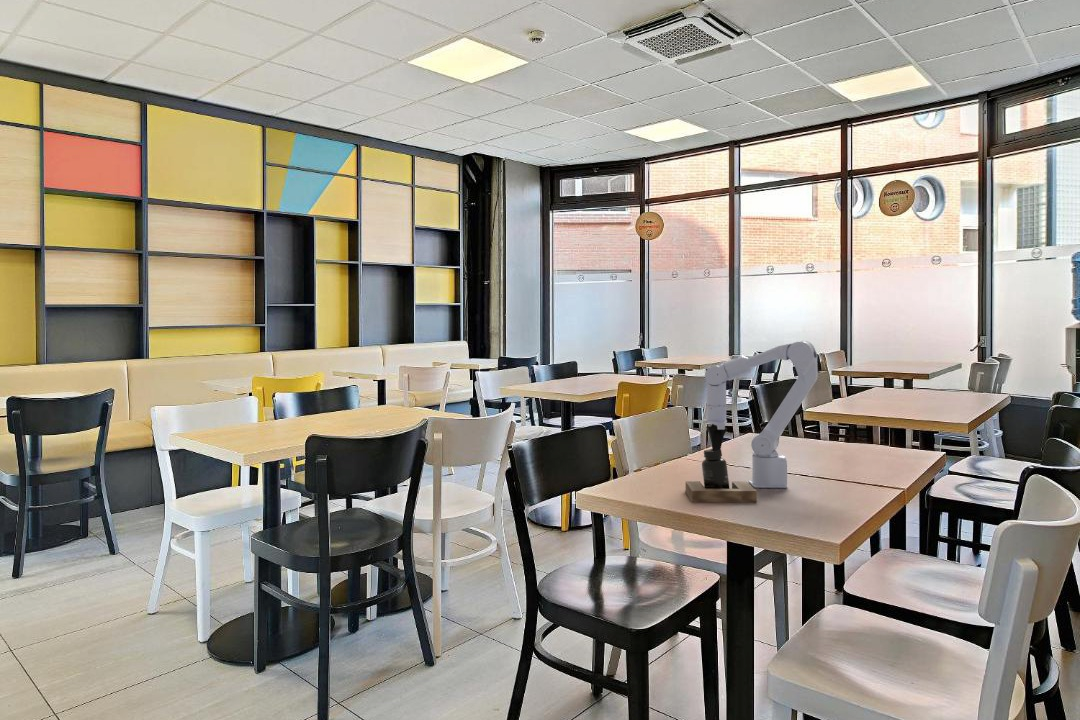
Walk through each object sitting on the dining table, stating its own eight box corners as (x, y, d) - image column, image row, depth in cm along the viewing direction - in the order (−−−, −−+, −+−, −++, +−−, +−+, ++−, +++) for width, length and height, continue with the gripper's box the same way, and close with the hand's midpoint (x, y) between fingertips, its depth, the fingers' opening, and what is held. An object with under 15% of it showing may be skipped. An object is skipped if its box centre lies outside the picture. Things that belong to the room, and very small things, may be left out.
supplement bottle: (734, 492, 192) (728, 449, 192) (710, 496, 191) (705, 453, 191) (724, 488, 199) (719, 446, 199) (701, 492, 198) (696, 450, 198)
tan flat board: (746, 492, 197) (746, 481, 197) (756, 502, 186) (756, 491, 185) (685, 491, 198) (685, 481, 198) (692, 501, 187) (692, 490, 186)
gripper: (698, 402, 218) (698, 445, 219) (707, 408, 204) (707, 454, 204) (721, 402, 218) (721, 445, 218) (732, 408, 203) (731, 454, 204)
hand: (716, 449), depth 211 cm, fingers closed
